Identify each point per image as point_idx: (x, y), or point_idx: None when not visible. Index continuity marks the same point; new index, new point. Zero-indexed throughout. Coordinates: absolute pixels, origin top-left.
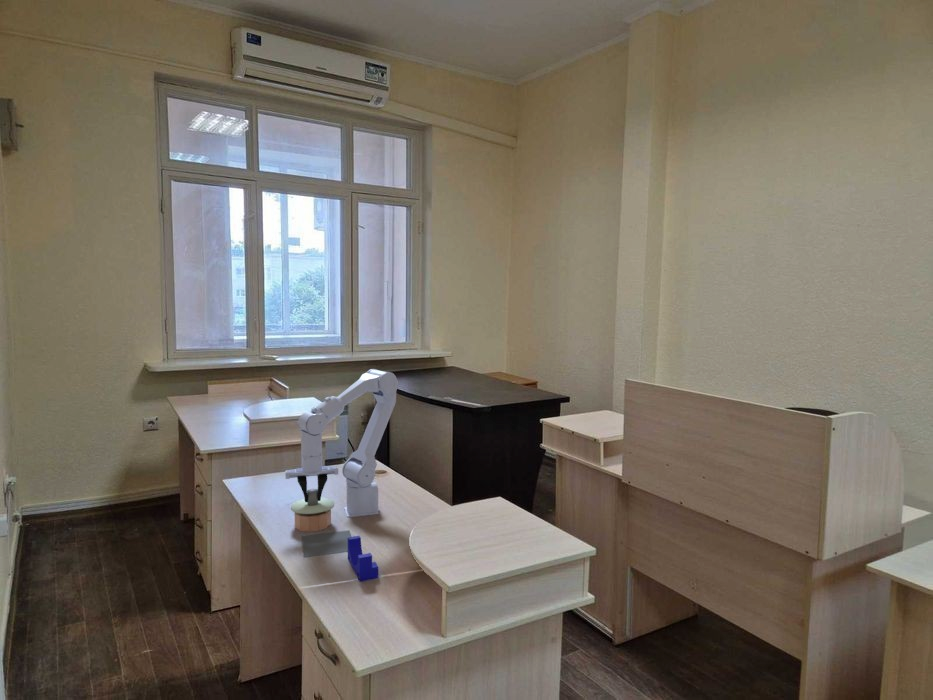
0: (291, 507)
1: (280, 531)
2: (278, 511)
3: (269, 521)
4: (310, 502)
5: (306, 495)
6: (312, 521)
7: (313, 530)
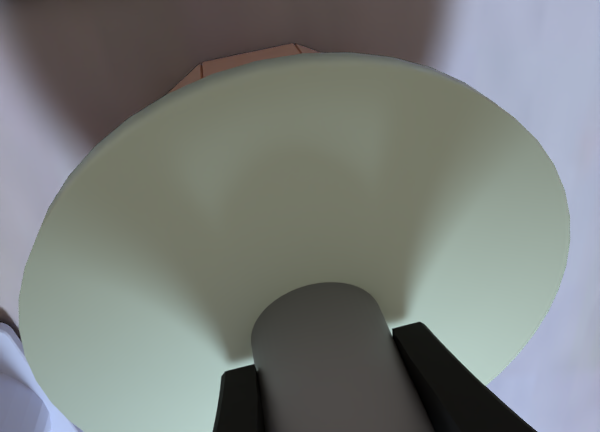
0: (569, 234)
1: (531, 94)
2: (503, 379)
3: (574, 260)
4: (354, 317)
5: (453, 400)
6: None
7: (255, 55)
